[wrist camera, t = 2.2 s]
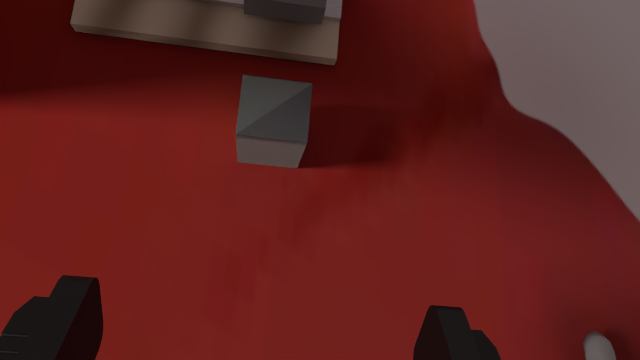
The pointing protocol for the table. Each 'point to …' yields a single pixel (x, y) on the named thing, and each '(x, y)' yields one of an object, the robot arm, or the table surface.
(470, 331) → the robot arm
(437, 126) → the table surface
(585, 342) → the bunny figurine
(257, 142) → the block
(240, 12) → the din rail mount
